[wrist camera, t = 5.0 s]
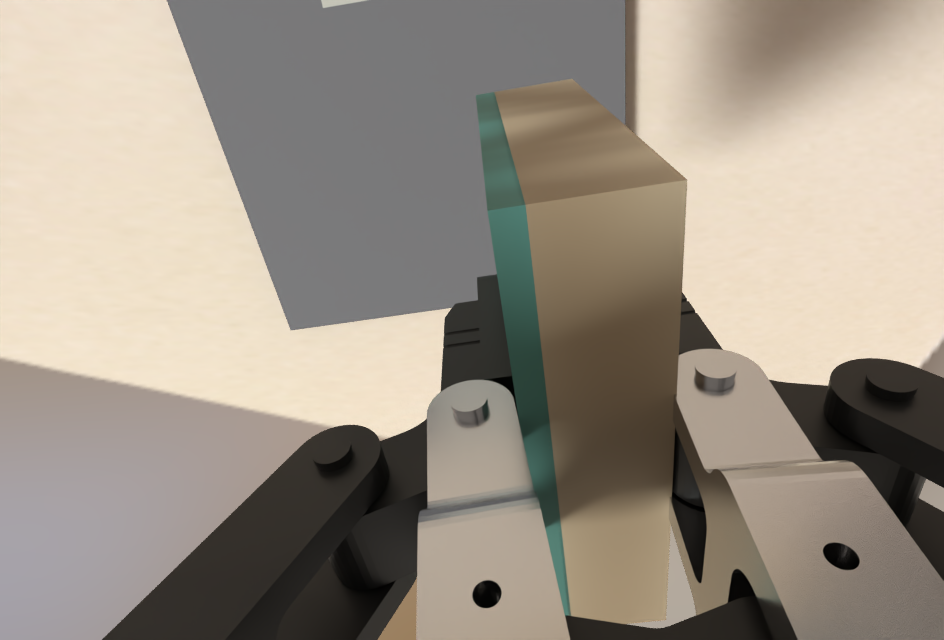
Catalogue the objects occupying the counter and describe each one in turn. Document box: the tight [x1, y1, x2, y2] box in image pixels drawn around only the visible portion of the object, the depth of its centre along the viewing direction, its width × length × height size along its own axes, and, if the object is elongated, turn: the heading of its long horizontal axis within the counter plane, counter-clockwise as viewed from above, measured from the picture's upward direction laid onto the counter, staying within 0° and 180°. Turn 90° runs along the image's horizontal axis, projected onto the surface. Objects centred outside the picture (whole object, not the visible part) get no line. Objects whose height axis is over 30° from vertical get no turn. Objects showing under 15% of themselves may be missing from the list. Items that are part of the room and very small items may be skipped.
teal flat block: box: [476, 79, 687, 624], centre depth 11 cm, size 2×8×7 cm, turn 9°
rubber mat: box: [167, 0, 625, 330], centre depth 19 cm, size 15×22×1 cm
